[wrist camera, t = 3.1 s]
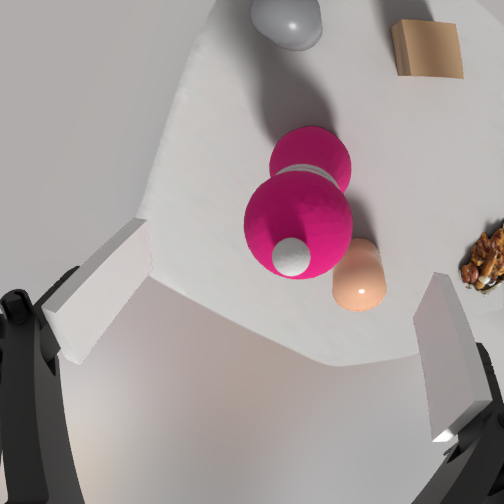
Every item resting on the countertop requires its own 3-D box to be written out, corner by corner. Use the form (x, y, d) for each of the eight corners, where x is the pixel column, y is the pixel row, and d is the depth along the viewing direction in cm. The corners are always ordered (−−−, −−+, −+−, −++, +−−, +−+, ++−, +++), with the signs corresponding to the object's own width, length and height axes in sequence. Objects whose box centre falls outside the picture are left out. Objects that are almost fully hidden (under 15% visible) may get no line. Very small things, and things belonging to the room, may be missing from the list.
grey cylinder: (324, 8, 22) (322, -15, 15) (319, 54, 25) (317, 45, 18) (271, 3, 23) (252, -19, 16) (267, 48, 25) (247, 39, 19)
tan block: (437, 30, 20) (455, 24, 16) (444, 77, 22) (463, 78, 18) (390, 27, 21) (401, 19, 17) (398, 75, 24) (411, 75, 20)
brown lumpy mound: (532, 221, 27) (545, 235, 24) (484, 291, 33) (493, 308, 30) (501, 196, 27) (514, 208, 24) (451, 273, 33) (459, 290, 30)
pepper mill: (314, 106, 28) (292, 151, 11) (362, 160, 29) (401, 278, 13) (263, 152, 31) (181, 255, 15) (310, 202, 33) (284, 345, 16)
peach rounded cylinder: (385, 242, 33) (393, 273, 28) (372, 282, 36) (376, 315, 31) (338, 233, 34) (339, 263, 29) (329, 274, 37) (327, 306, 32)
